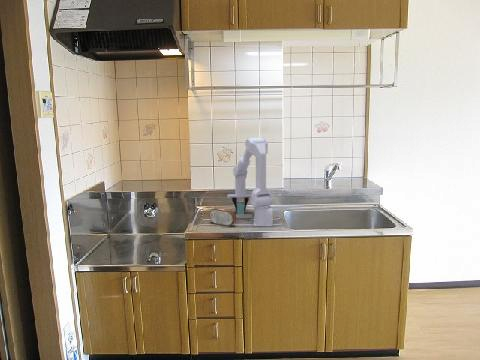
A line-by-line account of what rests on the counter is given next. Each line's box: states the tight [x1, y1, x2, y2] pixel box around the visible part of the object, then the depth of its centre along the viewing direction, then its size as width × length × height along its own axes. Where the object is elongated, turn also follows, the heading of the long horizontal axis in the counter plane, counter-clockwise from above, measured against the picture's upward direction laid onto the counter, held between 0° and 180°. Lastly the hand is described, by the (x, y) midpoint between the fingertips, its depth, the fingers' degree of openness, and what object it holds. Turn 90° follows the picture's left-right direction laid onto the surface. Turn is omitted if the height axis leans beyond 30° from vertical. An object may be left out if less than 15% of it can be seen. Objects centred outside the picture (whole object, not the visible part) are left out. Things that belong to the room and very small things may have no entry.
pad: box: [235, 213, 253, 221], centre depth 213 cm, size 9×8×1 cm
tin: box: [208, 206, 237, 227], centre depth 199 cm, size 15×3×8 cm, turn 59°
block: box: [236, 201, 245, 214], centre depth 221 cm, size 4×4×6 cm
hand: (240, 210), depth 221 cm, fingers open, 4 cm apart
